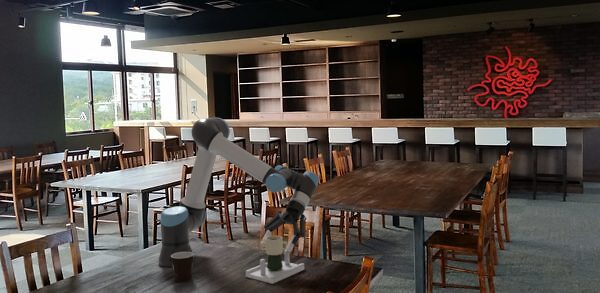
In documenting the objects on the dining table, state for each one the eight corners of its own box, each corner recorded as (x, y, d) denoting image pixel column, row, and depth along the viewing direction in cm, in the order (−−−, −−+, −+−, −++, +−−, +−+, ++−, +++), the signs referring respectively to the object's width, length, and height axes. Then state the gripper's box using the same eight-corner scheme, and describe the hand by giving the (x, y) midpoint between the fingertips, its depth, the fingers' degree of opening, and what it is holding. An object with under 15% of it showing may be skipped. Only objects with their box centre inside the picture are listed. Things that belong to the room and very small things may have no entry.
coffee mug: (189, 284, 204) (188, 258, 203) (168, 283, 206) (167, 257, 205) (200, 274, 215) (199, 250, 214) (181, 273, 217) (179, 249, 216)
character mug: (287, 265, 218) (287, 234, 217) (288, 271, 211) (287, 239, 210) (261, 267, 217) (260, 236, 216) (261, 272, 210) (260, 240, 209)
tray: (245, 276, 210) (245, 258, 210) (278, 263, 226) (277, 246, 225) (272, 283, 202) (271, 264, 201) (304, 269, 218) (303, 251, 217)
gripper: (325, 213, 217) (303, 257, 207) (279, 206, 233) (257, 247, 223) (317, 202, 213) (295, 247, 203) (271, 196, 228) (247, 238, 218)
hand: (275, 247), depth 213 cm, fingers open, 13 cm apart
